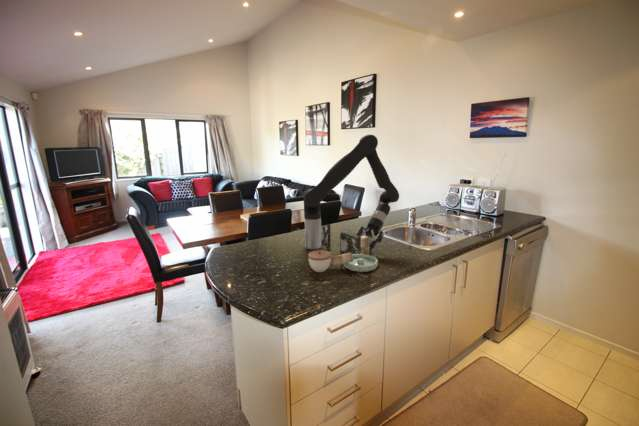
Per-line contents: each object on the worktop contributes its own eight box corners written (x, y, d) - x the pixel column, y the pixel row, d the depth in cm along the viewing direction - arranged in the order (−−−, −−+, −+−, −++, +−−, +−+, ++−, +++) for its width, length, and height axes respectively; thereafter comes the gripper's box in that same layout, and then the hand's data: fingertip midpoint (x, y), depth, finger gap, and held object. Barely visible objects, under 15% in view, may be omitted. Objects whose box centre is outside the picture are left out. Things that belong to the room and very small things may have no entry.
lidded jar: (323, 276, 136) (323, 256, 133) (304, 271, 141) (303, 252, 139) (335, 267, 144) (335, 249, 142) (316, 263, 150) (316, 245, 148)
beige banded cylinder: (351, 259, 146) (331, 264, 145) (349, 250, 145) (329, 256, 144) (353, 262, 141) (333, 268, 141) (351, 254, 140) (331, 259, 140)
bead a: (361, 257, 157) (361, 238, 155) (359, 254, 161) (360, 236, 159) (370, 256, 157) (370, 238, 155) (367, 253, 162) (368, 235, 159)
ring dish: (347, 272, 139) (347, 266, 138) (341, 259, 154) (341, 254, 154) (381, 270, 140) (381, 264, 139) (372, 257, 156) (372, 252, 155)
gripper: (363, 214, 165) (350, 239, 160) (386, 218, 156) (372, 245, 150) (369, 222, 170) (356, 246, 165) (391, 226, 160) (378, 252, 155)
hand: (364, 246), depth 158 cm, fingers open, 8 cm apart
